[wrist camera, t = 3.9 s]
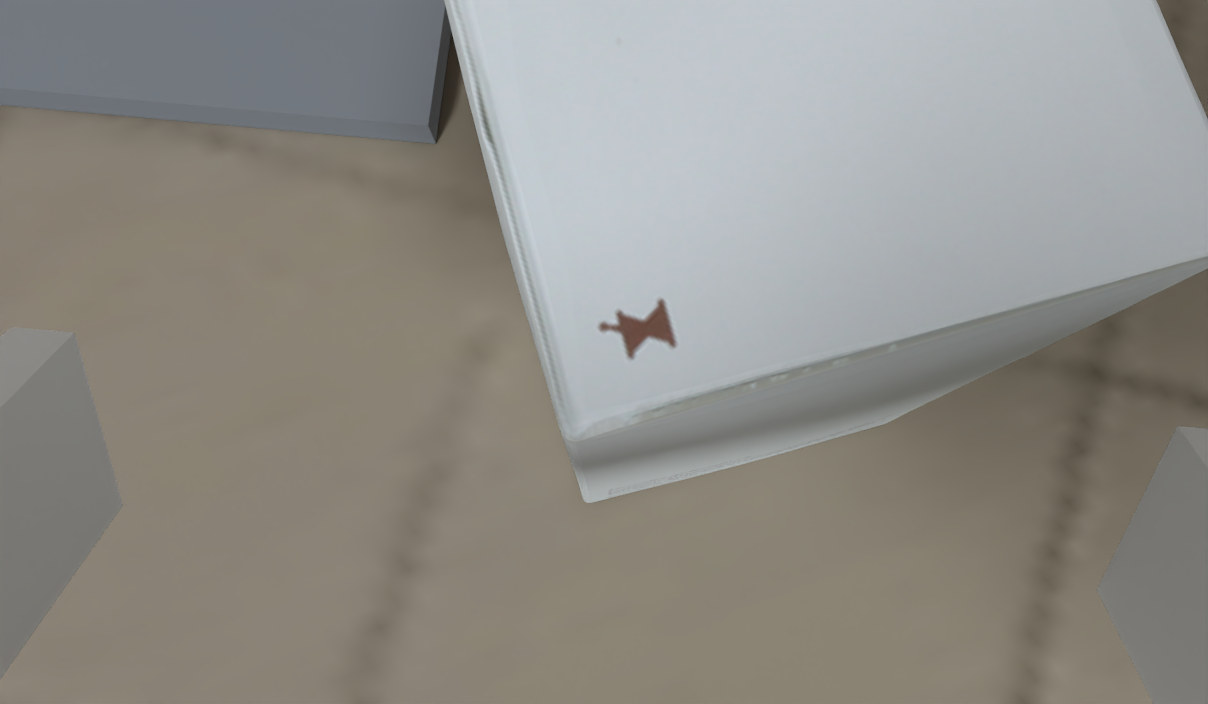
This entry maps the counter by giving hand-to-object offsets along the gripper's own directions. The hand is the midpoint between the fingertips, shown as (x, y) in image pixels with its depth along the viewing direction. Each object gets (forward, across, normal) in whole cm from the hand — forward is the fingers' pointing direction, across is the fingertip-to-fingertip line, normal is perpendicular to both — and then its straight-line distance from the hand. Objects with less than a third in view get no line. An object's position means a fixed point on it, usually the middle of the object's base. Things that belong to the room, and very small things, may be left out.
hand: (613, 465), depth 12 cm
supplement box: (+10, +2, -4) cm, 11 cm away
